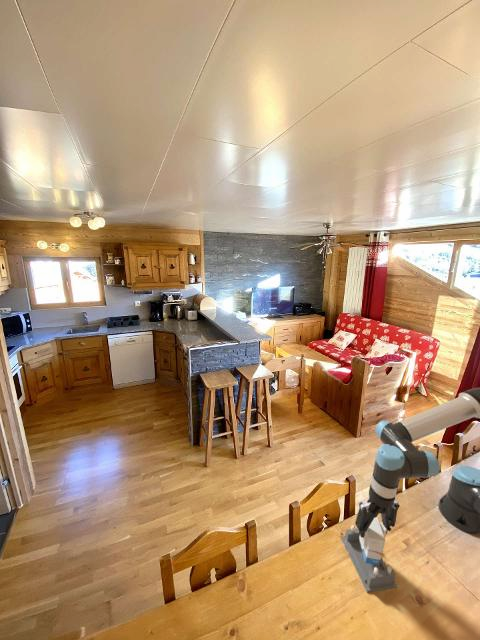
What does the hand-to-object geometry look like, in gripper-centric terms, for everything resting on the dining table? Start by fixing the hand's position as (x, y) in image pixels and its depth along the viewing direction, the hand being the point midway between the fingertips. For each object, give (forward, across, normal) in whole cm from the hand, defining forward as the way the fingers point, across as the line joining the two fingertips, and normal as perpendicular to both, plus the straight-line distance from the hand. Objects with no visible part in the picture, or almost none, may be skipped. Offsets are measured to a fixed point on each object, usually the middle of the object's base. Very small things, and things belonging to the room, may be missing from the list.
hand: (371, 540), depth 94 cm
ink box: (+5, 0, 0) cm, 5 cm away
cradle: (+10, 0, 0) cm, 10 cm away
